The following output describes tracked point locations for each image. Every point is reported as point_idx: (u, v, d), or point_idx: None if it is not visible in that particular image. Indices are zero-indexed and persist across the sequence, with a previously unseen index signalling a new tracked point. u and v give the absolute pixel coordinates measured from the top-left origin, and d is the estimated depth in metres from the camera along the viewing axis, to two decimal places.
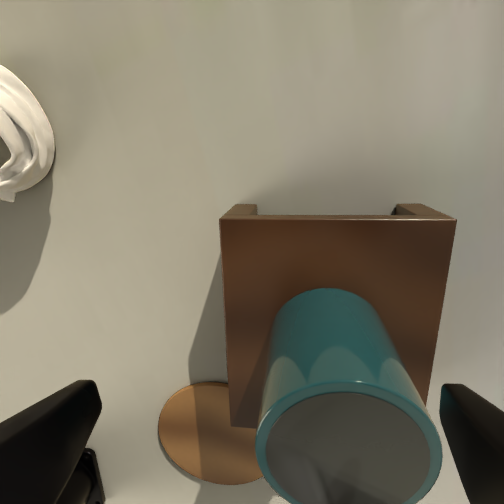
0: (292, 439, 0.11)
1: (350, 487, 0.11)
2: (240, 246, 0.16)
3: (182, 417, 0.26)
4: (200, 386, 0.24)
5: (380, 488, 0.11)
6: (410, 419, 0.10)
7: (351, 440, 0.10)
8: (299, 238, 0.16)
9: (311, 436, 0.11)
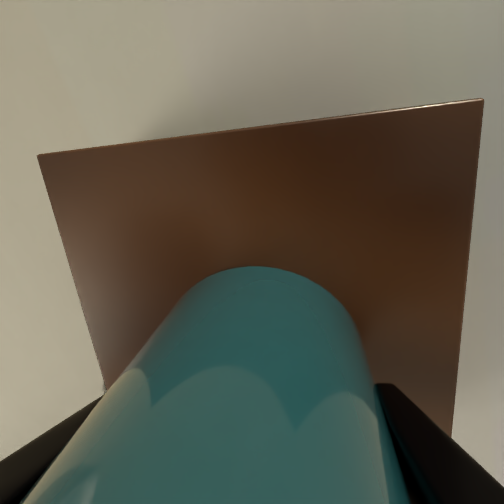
0: None
1: None
2: (83, 203, 0.09)
3: None
4: None
5: None
6: None
7: None
8: (180, 176, 0.08)
9: None
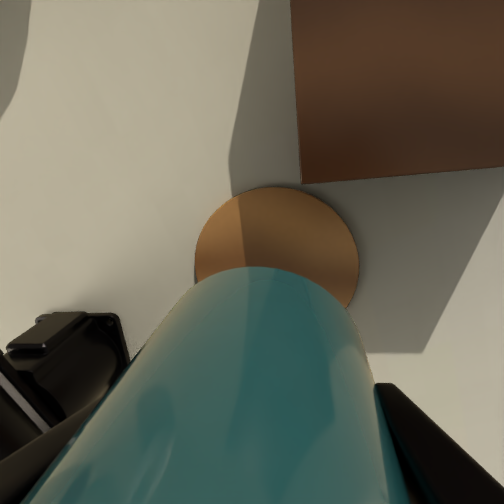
0: None
1: None
2: None
3: (225, 245, 0.20)
4: (246, 193, 0.19)
5: None
6: None
7: None
8: None
9: None
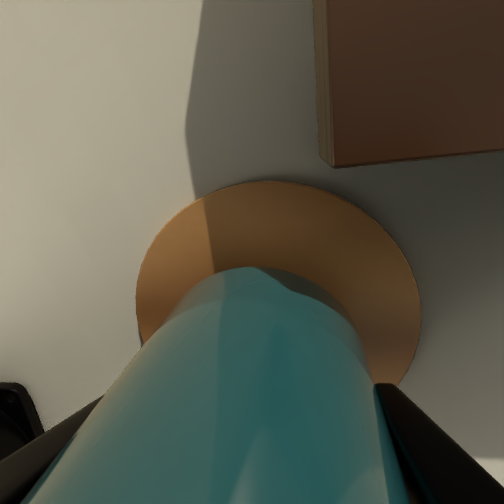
0: None
1: None
2: None
3: (186, 283, 0.11)
4: (219, 192, 0.10)
5: None
6: None
7: None
8: None
9: None
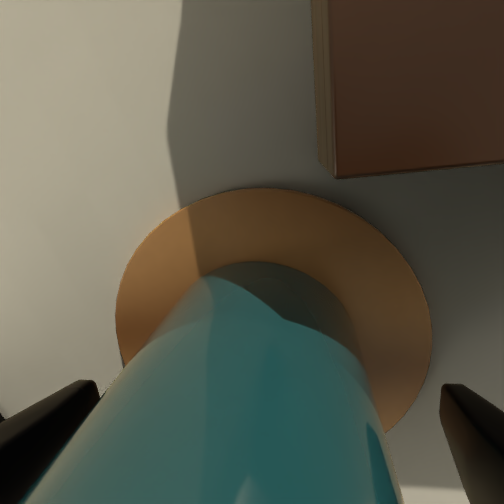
0: None
1: None
2: None
3: (170, 300, 0.10)
4: (205, 201, 0.09)
5: None
6: None
7: None
8: None
9: None
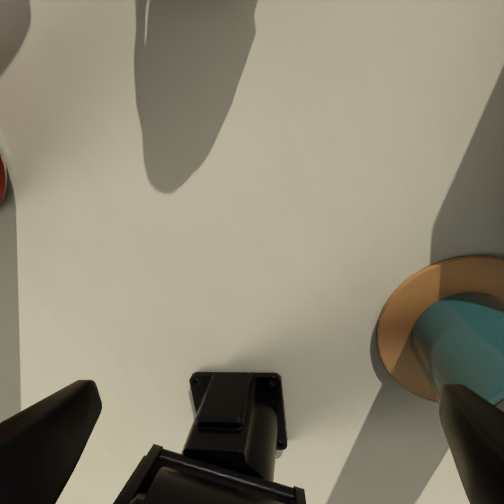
0: None
1: None
2: None
3: (417, 312, 0.19)
4: (451, 262, 0.18)
5: None
6: None
7: None
8: None
9: None
